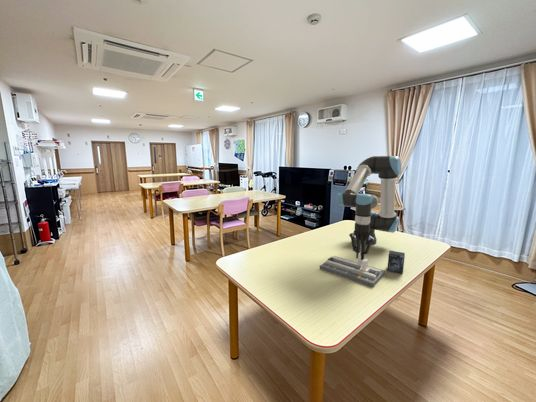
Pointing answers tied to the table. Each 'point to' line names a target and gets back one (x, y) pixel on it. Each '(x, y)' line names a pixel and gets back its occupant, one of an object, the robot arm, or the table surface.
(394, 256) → the box
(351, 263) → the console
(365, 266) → the fader tab
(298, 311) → the table surface
